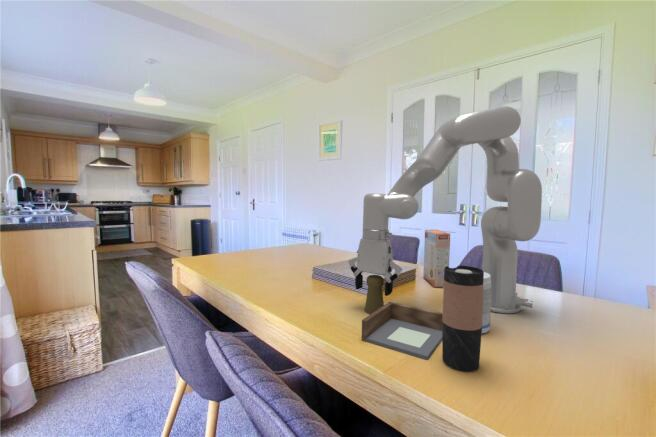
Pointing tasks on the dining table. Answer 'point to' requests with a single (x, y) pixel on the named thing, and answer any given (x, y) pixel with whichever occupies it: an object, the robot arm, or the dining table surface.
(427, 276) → the cracker box
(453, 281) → the travel mug
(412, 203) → the robot arm
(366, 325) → the walls
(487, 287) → the supplement tub
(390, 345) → the mat
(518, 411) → the dining table surface
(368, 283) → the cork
